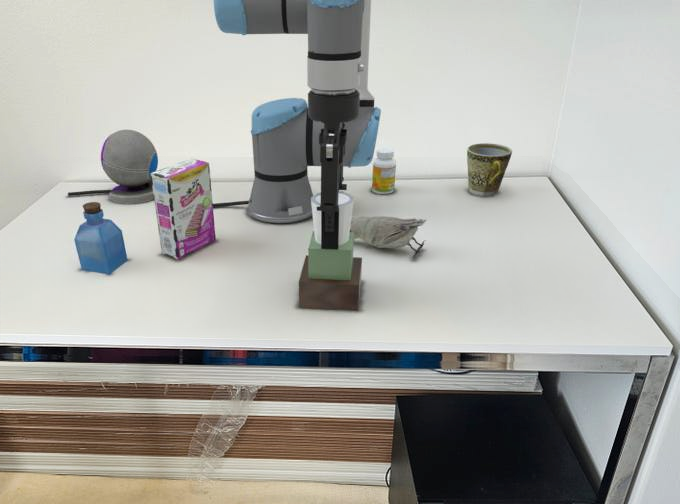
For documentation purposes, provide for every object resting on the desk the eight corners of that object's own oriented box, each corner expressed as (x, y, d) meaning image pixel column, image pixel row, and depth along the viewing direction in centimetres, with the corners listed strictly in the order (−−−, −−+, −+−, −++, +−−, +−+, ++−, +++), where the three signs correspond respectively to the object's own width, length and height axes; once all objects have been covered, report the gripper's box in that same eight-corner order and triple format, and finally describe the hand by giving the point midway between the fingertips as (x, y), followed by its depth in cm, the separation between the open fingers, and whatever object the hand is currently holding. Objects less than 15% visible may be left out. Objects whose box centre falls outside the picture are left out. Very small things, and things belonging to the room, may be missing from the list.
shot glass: (349, 249, 98) (350, 207, 94) (307, 246, 100) (306, 204, 96) (355, 232, 104) (356, 191, 100) (315, 229, 105) (315, 189, 101)
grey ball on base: (121, 183, 156) (109, 122, 147) (169, 185, 154) (160, 123, 145) (100, 202, 145) (86, 137, 136) (152, 204, 144) (141, 139, 135)
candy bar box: (179, 261, 119) (167, 178, 110) (161, 255, 122) (148, 173, 112) (218, 241, 127) (210, 161, 117) (200, 235, 129) (191, 156, 120)
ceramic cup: (456, 185, 151) (461, 144, 145) (495, 183, 152) (502, 142, 146) (473, 205, 141) (480, 161, 135) (516, 202, 141) (524, 159, 136)
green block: (308, 278, 102) (308, 248, 99) (313, 259, 108) (313, 230, 105) (350, 280, 101) (351, 250, 98) (353, 261, 107) (354, 232, 104)
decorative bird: (351, 236, 127) (352, 202, 123) (426, 251, 121) (430, 215, 117) (340, 247, 123) (341, 211, 119) (418, 262, 118) (422, 225, 113)
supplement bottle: (370, 187, 151) (371, 147, 145) (391, 186, 151) (394, 146, 146) (373, 195, 147) (376, 154, 141) (396, 194, 147) (399, 153, 141)
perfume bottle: (127, 260, 120) (115, 200, 113) (109, 274, 115) (96, 213, 108) (100, 256, 122) (87, 197, 115) (81, 269, 117) (66, 209, 110)
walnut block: (299, 307, 104) (298, 281, 101) (306, 279, 112) (305, 255, 109) (358, 310, 103) (359, 284, 100) (361, 282, 111) (362, 257, 108)
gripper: (356, 105, 80) (350, 265, 93) (363, 76, 96) (357, 216, 109) (299, 104, 81) (301, 263, 94) (315, 76, 97) (315, 215, 110)
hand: (331, 238), depth 102 cm, fingers closed on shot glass, 7 cm apart
